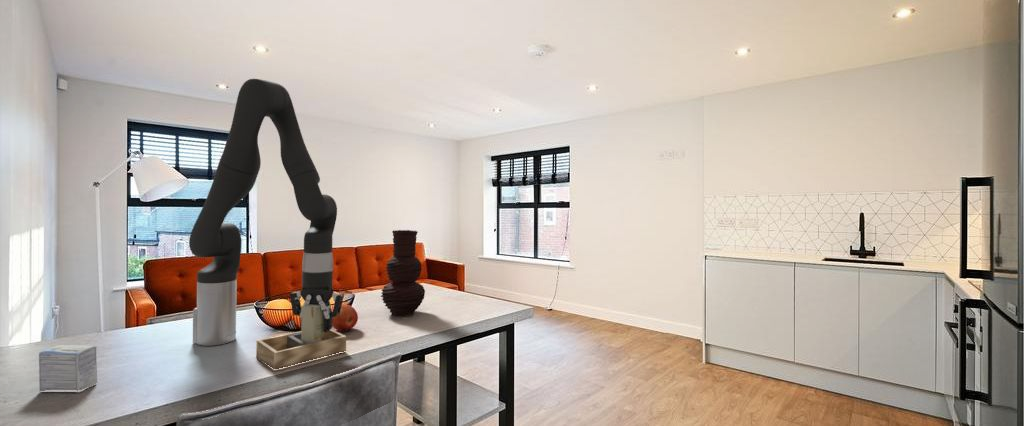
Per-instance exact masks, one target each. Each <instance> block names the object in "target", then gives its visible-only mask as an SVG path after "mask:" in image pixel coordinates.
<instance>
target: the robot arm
mask: <svg viewBox="0 0 1024 426" xmlns="http://www.w3.org/2000/svg"><path fill="white" fill-rule="evenodd" d="M293 104H294V103H293V102H292V98H291V95H290V93H289V91H288V90H287V89H286V88H285V87H284V85H282V84H279V83H277V82H273V81H270V80H266V79H263V78H257V77H253V78H252V77H251V78H249V79H247V80H246V81H244V82H243V84H242V85H241V87H240V89H239V92H238V95H237V98H236V102H235V106H234V107H235V108H234V113H233V116H232V117H233V118H232V122H231V127H230V129H229V131H228V132H229V133H228V135H227V139H226V142H225V145H224V149H223V151H222V154H221V155H220V156H221V157H220V159H219V162H218V165H217V167H216V170H215V173H214V178H213V180H212V184H211V186H210V189H209V191H208V195H207V196H206V199H205V201H204V204H203V206H202V208H201V210H200V212H199V214H198V216H197V218H196V221H195V223H194V225H192V226H193V227H192V229H191V232H190V235H189V240H188V243H189V244H188V246H189V250H190V252H191V254H192V255H193V256H195V257H197V258H205V259H206V258H213V259H212V261H211V262H210V263H209V264H207V265H206V266H204V267H202V268H201V269H200V270H198V272H197V273H196V307H195V308H193V309H192V344H196V345H199V346H204V347H209V346H210V347H211V346H219V345H225V344H228V343H231V342H233V341H235V340H236V339H237V338H236V337H237V288H238V287H237V280H238V279H237V277H238V276H237V275H238V272H239V270H240V265H241V251H242V235H241V231H240V229H239V228H238V226H237V225H236V224H234V223H232V222H224V221H225V218H226V217H227V216H228V214H229V213H230V212H231V210H233V208H234V207H236V206H237V205H238V204H239V203H240V202H241V201H242V200H243V199H244V198H245V197H246V196H247V195H248V194H249V193H250V192H251V191H252V189H253V188H254V185H255V183H256V180H257V177H258V174H259V172H260V169H261V164H262V162H261V155H260V148H259V142H258V141H259V133H260V129H261V127H262V124H263V121H264V120H265V118H266V117H267V118H269V119H270V121H271V122H272V123H273V125H274V127H275V128H276V131H277V133H278V136H279V137H278V138H279V142H280V149H279V150H280V158H281V163H282V167H283V168H284V171H285V172H286V175H287V177H288V179H289V181H290V183H291V185H292V186H293V192H294V197H295V201H296V204H297V207H298V210H299V211H300V214H301V215H302V216H303V217H304V218H305V219H306V220H307V221H310V225H309V229H308V230H307V231H306V232H305V233H304V237H303V256H302V263H301V264H302V266H301V269H302V270H301V290H300V291H293V292H291V293H289V298H290V299H289V300H290V304H291V305H290V306H291V311H292V314H293V315H294V316H297V317H299V318H300V321H299V322H300V325H299V326H300V327H299V328H300V329H301V306H304V305H320V307H321V310H322V311H323V313H324V315H325V319H324V332H328V331H330V329H332V328H333V326H332V318H333V317H336V316H337V315H338V314H340V310H341V306H342V305H343V302H344V297H345V294H344V293H337V292H334V290H333V282H334V281H333V276H334V274H333V273H334V270H333V269H334V257H333V235H334V230H335V227H336V221H337V216H338V215H337V214H338V205H337V202H336V200H335V198H333V197H332V196H330V195H328V194H324V193H323V194H322V191H321V189H320V186H319V183H321V178H320V174H319V172H318V170H317V168H316V166H315V164H314V162H313V160H312V157H311V155H310V153H309V151H308V149H307V145H306V143H305V141H304V138H303V135H302V132H301V129H300V128H301V127H300V125H299V122H298V118H297V115H296V111H295V108H294V105H293ZM332 298H333V299H332ZM300 299H303V300H304V302H303V305H301V300H300ZM331 299H332V300H333V302H334V305H333V309H332V303H331V302H330V300H331ZM332 311H333V312H332Z"/></svg>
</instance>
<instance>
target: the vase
mask: <svg viewBox="0 0 1024 426" xmlns="http://www.w3.org/2000/svg"><path fill="white" fill-rule="evenodd" d="M418 233H419V231H417V230H412V229H411V230H410V229H405V230H404V229H403V230H401V229H399V230H398V229H397V230H394V229H393V230H392V236H393V238H392V242H393V244H392V246H393V251H392V253H393V256H392V257H391V258H390V259H389V260H387V261H386V263H385V264H386V266H385V268H386V275H387V278H388V280H389V281H391V282H388V283H386V285H384V286H383V288H382V289H381V295H380V297H381V301H383V302H382V303H383V304H385V305H384V306H385V307H386V308H387V310H389V313H391V316H394V317H402V318H403V317H404V318H405V317H409V316H413V315H414V314H415V311H417V309H418V308H419V306H421V304H422V303H423V301H424V300H425V297H426V296H425V294H426V290H425V287H424V285H422V284H421V283H419V282H417V280H418V279H419V278H420V276H421V272H422V266H423V265H422V262H421V261H420V259H419V258H418V257H416V256H415V255H416V248H417V247H416V244H417V235H418Z"/></svg>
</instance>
